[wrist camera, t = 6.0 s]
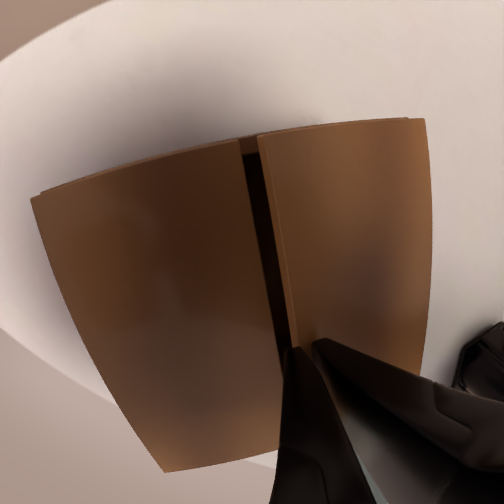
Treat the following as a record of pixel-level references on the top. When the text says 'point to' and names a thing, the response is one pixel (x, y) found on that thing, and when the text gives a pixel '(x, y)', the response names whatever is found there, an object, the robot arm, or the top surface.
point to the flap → (354, 234)
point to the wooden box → (178, 296)
